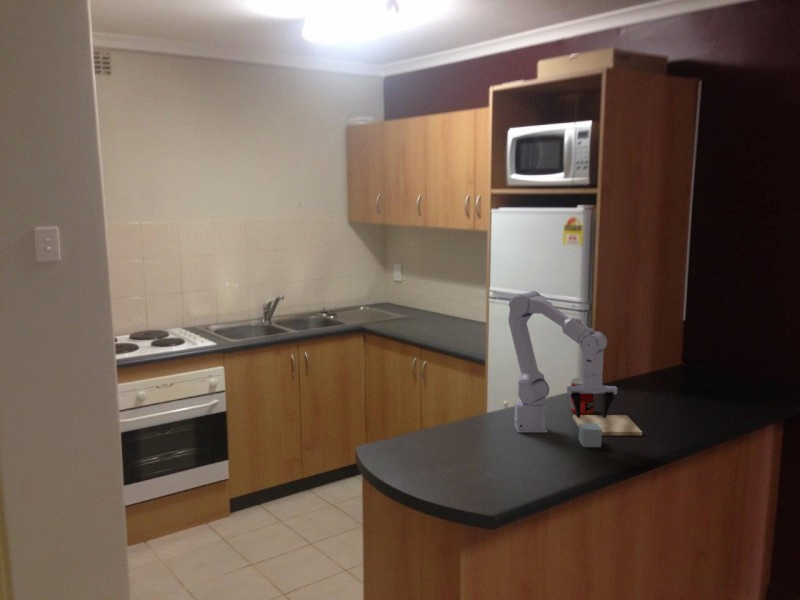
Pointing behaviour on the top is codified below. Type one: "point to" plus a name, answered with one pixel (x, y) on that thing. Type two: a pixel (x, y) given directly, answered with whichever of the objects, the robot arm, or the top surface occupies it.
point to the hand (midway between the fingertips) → (590, 416)
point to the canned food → (583, 400)
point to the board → (610, 424)
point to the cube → (590, 435)
